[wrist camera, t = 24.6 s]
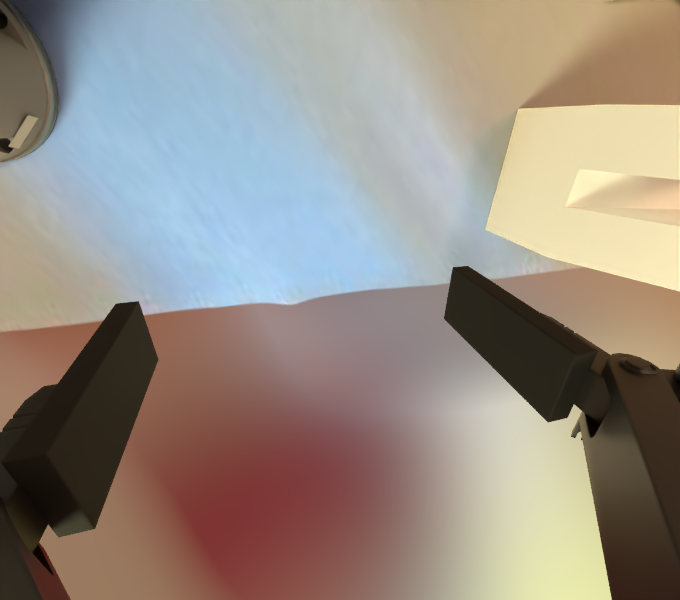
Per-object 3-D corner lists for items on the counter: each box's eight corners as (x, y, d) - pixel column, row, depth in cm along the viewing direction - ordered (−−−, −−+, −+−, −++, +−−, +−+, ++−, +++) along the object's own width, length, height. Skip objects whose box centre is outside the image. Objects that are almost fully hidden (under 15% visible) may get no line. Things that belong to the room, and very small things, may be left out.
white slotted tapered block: (633, 121, 46) (968, 119, 25) (587, 229, 53) (817, 301, 32) (518, 108, 41) (810, 93, 20) (485, 229, 48) (673, 314, 27)
